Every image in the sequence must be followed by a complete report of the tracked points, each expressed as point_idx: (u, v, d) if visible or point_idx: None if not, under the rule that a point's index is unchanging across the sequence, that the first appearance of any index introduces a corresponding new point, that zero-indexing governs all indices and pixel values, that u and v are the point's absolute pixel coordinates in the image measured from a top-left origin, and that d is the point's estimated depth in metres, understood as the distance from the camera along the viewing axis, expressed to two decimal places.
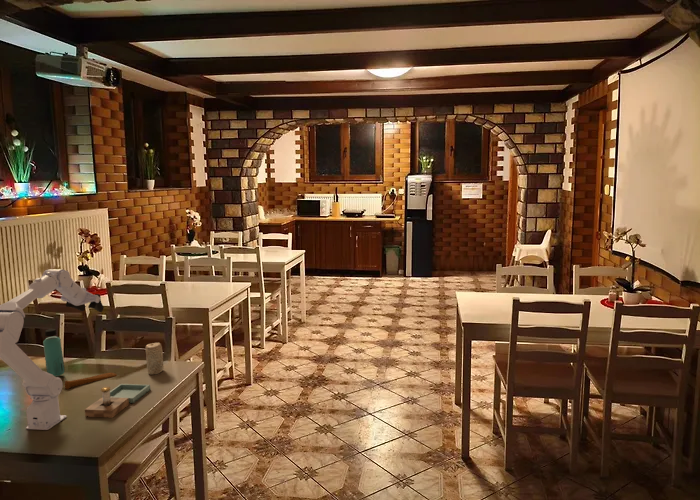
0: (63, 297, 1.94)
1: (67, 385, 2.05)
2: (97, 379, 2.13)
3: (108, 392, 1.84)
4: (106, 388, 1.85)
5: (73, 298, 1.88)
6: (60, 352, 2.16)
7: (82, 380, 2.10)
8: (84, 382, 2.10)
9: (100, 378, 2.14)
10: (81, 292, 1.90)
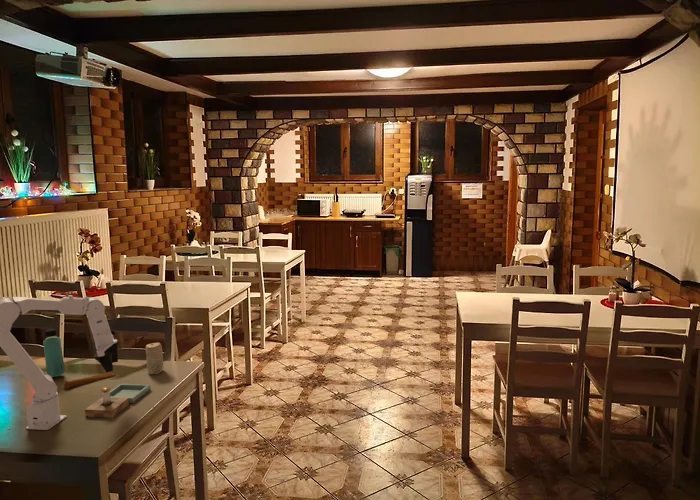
0: None
1: (66, 385, 2.05)
2: (96, 379, 2.13)
3: (108, 392, 1.84)
4: (106, 388, 1.85)
5: (93, 336, 1.84)
6: (60, 352, 2.16)
7: (81, 380, 2.10)
8: (83, 382, 2.10)
9: (99, 378, 2.14)
10: (101, 337, 1.83)
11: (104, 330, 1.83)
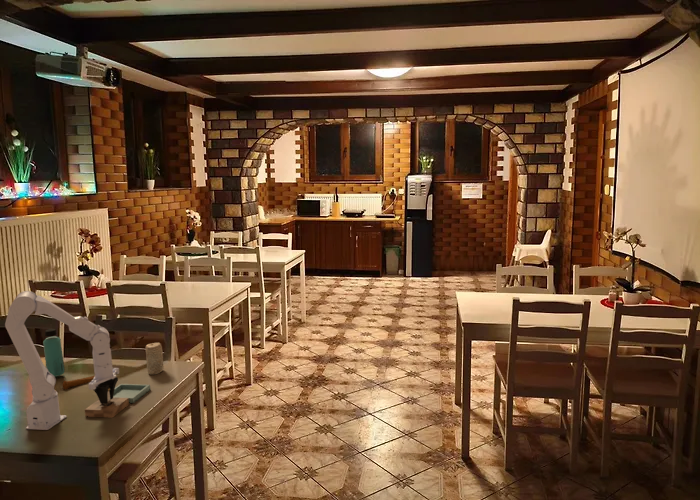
0: (114, 369, 1.90)
1: (65, 385, 2.05)
2: None
3: (108, 392, 1.84)
4: None
5: None
6: (60, 352, 2.16)
7: (80, 380, 2.10)
8: (82, 382, 2.10)
9: None
10: (99, 370, 1.81)
11: (104, 363, 1.81)
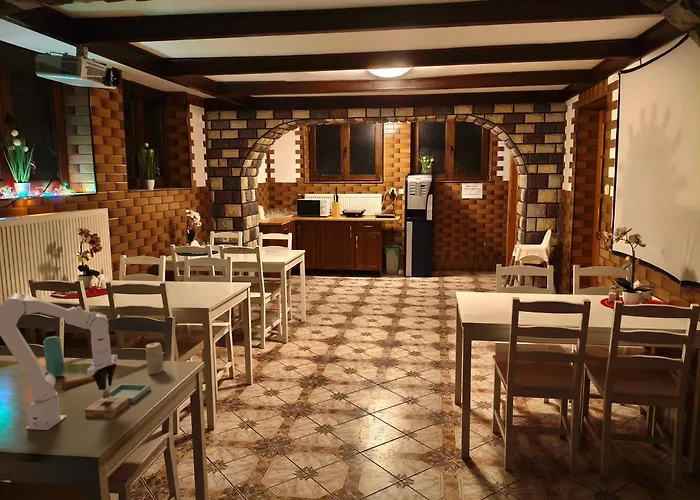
0: (113, 356, 1.90)
1: (64, 385, 2.05)
2: None
3: (107, 378, 1.84)
4: None
5: (92, 352, 1.82)
6: (60, 352, 2.16)
7: (79, 380, 2.09)
8: (81, 382, 2.10)
9: None
10: (97, 356, 1.80)
11: (103, 349, 1.80)
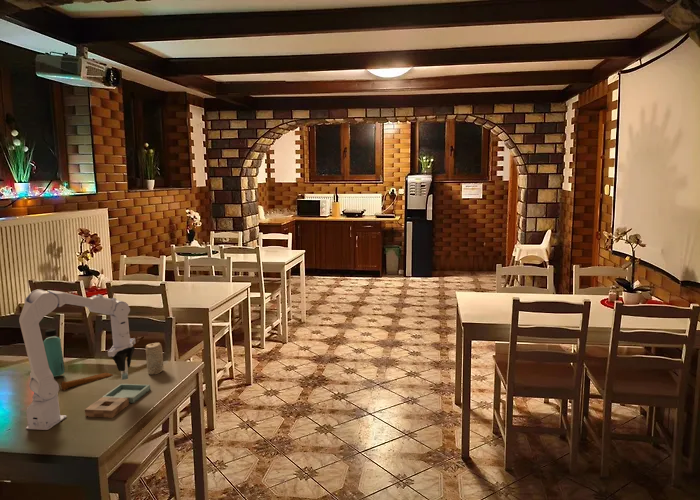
0: None
1: (64, 386, 2.05)
2: (93, 379, 2.13)
3: (126, 360, 1.95)
4: None
5: (112, 335, 1.93)
6: (60, 352, 2.16)
7: (79, 381, 2.09)
8: (81, 382, 2.10)
9: (96, 378, 2.14)
10: (117, 339, 1.91)
11: (125, 332, 1.92)
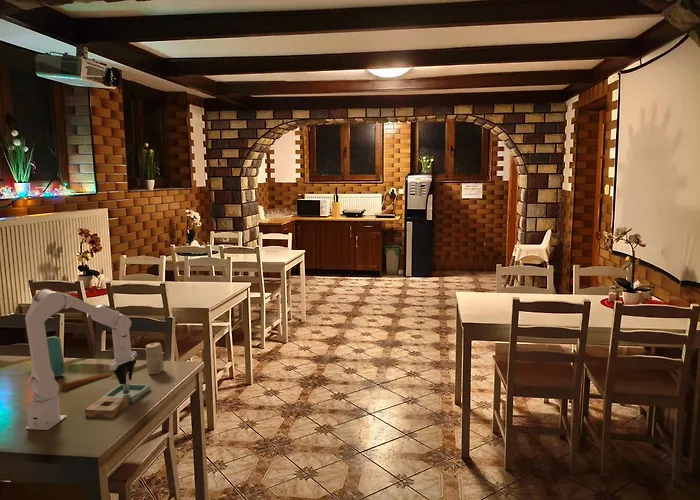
0: (132, 352, 2.02)
1: (65, 387, 2.04)
2: (93, 380, 2.13)
3: (127, 375, 1.96)
4: None
5: None
6: (60, 352, 2.16)
7: (79, 381, 2.09)
8: (81, 383, 2.09)
9: (96, 378, 2.13)
10: (118, 352, 1.92)
11: (127, 345, 1.93)
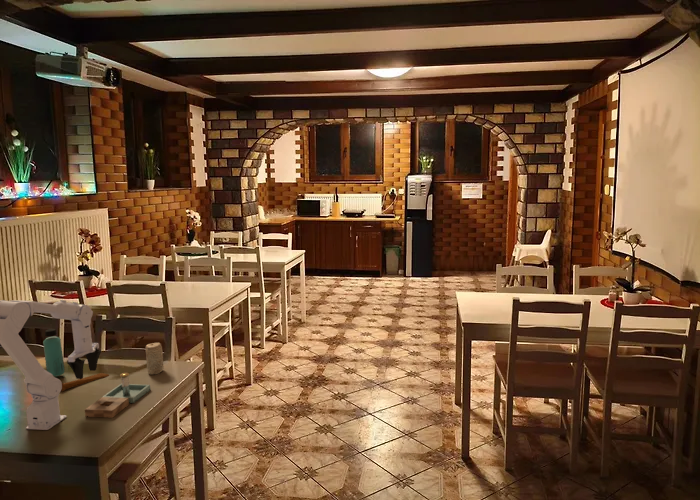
0: (94, 344, 1.97)
1: (62, 387, 2.03)
2: (90, 380, 2.12)
3: (127, 377, 1.96)
4: (125, 374, 1.96)
5: None
6: (60, 352, 2.16)
7: (76, 381, 2.08)
8: (78, 383, 2.09)
9: (93, 379, 2.13)
10: (78, 344, 1.87)
11: (89, 335, 1.89)
